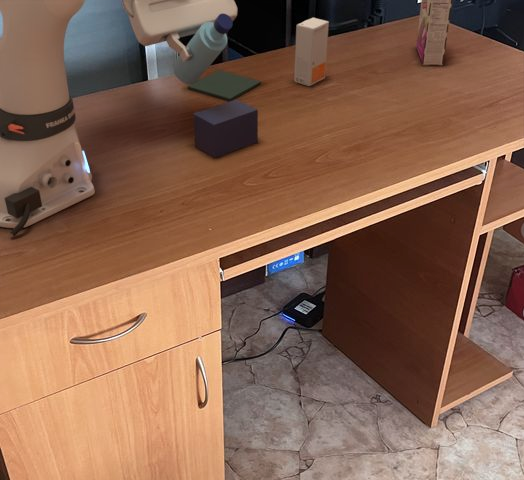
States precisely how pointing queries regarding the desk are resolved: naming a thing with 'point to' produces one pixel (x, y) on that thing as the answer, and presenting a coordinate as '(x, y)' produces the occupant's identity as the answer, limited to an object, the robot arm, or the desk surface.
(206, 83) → the rubber mat
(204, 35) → the plastic bottle
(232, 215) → the desk surface
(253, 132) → the navy block
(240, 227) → the desk surface
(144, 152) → the desk surface
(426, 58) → the candy bar box
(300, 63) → the cosmetic box
